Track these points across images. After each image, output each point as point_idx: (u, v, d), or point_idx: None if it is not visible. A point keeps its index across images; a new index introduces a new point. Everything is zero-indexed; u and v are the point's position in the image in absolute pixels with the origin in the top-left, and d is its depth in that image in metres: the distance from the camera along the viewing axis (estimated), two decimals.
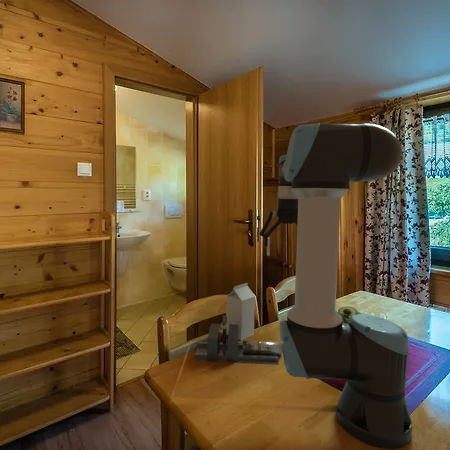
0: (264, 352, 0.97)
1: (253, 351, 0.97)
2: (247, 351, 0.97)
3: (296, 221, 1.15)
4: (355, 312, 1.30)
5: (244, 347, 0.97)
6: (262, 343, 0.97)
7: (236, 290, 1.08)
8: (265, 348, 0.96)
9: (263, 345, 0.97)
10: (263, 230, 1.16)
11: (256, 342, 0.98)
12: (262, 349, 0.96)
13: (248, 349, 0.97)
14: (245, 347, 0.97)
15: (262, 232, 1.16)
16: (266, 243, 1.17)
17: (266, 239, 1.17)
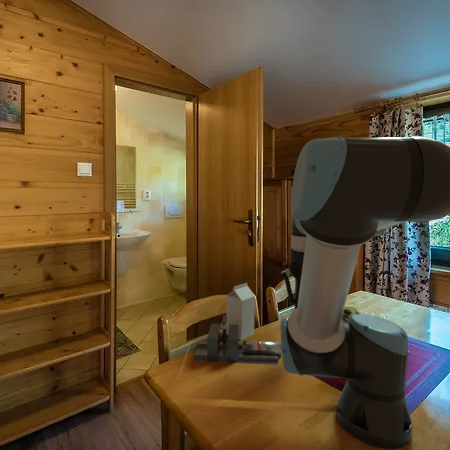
0: (264, 352, 0.97)
1: (253, 351, 0.97)
2: (247, 351, 0.97)
3: None
4: (355, 312, 1.30)
5: (244, 347, 0.97)
6: (262, 343, 0.97)
7: (236, 290, 1.08)
8: (265, 348, 0.96)
9: (263, 345, 0.97)
10: (290, 296, 0.95)
11: (256, 342, 0.98)
12: (262, 349, 0.96)
13: (248, 349, 0.97)
14: (245, 347, 0.97)
15: (291, 299, 0.95)
16: None
17: None
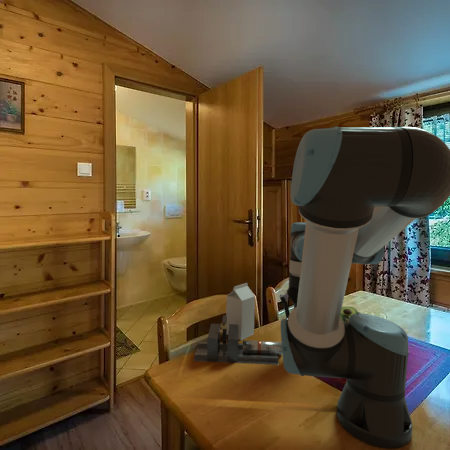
0: (264, 352, 0.97)
1: (253, 351, 0.97)
2: (247, 351, 0.97)
3: None
4: (355, 312, 1.30)
5: (244, 347, 0.97)
6: (262, 343, 0.97)
7: (236, 290, 1.08)
8: (265, 348, 0.96)
9: (263, 345, 0.97)
10: None
11: (256, 342, 0.98)
12: (262, 349, 0.96)
13: (248, 349, 0.97)
14: (245, 347, 0.97)
15: None
16: None
17: None
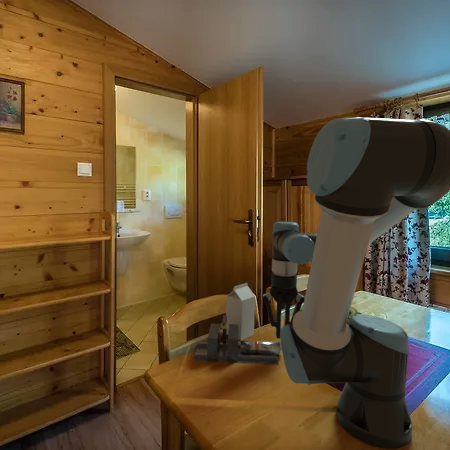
0: (262, 352, 0.97)
1: (251, 351, 0.97)
2: (245, 351, 0.97)
3: (288, 303, 0.95)
4: (355, 312, 1.30)
5: (241, 347, 0.97)
6: (260, 343, 0.97)
7: (236, 290, 1.08)
8: (263, 348, 0.96)
9: (261, 345, 0.97)
10: (271, 319, 0.96)
11: (254, 342, 0.98)
12: (260, 349, 0.96)
13: (245, 349, 0.97)
14: (243, 347, 0.97)
15: (272, 322, 0.96)
16: (278, 334, 0.97)
17: (278, 330, 0.97)
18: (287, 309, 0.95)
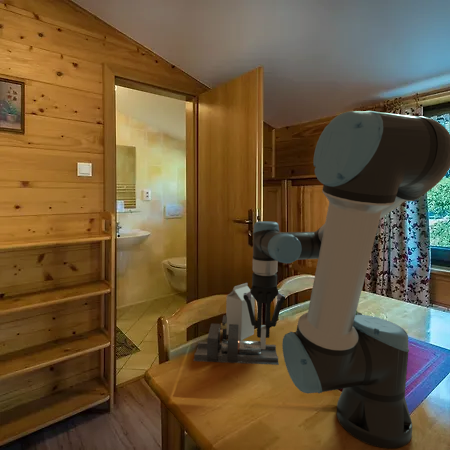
0: (242, 351, 0.97)
1: None
2: (226, 350, 0.97)
3: (268, 303, 0.95)
4: None
5: (222, 347, 0.97)
6: (241, 342, 0.98)
7: (236, 290, 1.08)
8: (244, 347, 0.97)
9: (242, 344, 0.97)
10: (252, 318, 0.96)
11: None
12: (240, 348, 0.97)
13: (226, 349, 0.97)
14: (223, 346, 0.97)
15: (252, 321, 0.96)
16: (259, 334, 0.97)
17: (259, 329, 0.97)
18: (267, 308, 0.96)
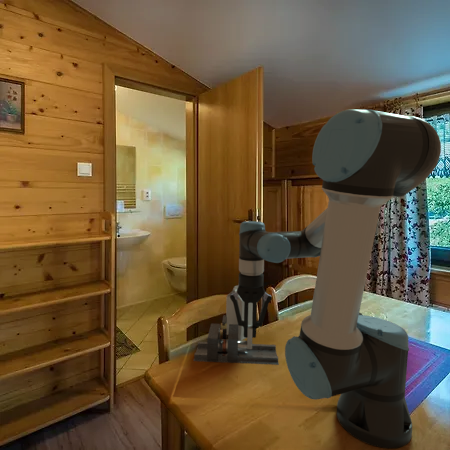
0: None
1: (218, 350, 0.97)
2: None
3: (255, 303, 0.95)
4: None
5: None
6: (227, 342, 0.98)
7: (236, 290, 1.08)
8: None
9: None
10: (238, 318, 0.96)
11: (222, 341, 0.98)
12: (227, 347, 0.97)
13: None
14: None
15: (239, 321, 0.97)
16: (246, 334, 0.97)
17: (246, 329, 0.97)
18: (254, 308, 0.96)
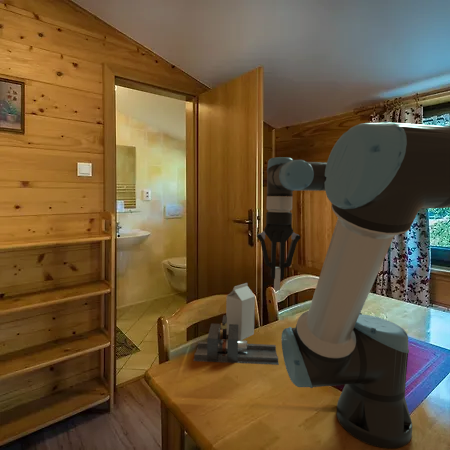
0: None
1: (218, 350, 0.97)
2: None
3: (283, 241, 0.93)
4: None
5: None
6: (227, 342, 0.98)
7: (236, 290, 1.08)
8: None
9: None
10: (266, 258, 0.94)
11: (221, 341, 0.98)
12: (227, 347, 0.97)
13: None
14: None
15: (266, 261, 0.94)
16: (273, 275, 0.95)
17: (273, 270, 0.95)
18: (282, 248, 0.94)
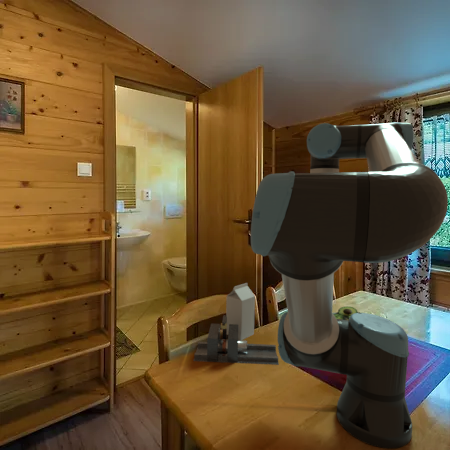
0: None
1: (218, 350, 0.97)
2: None
3: None
4: (355, 312, 1.30)
5: None
6: (227, 342, 0.98)
7: (236, 290, 1.08)
8: None
9: None
10: None
11: (221, 341, 0.98)
12: (227, 347, 0.97)
13: None
14: None
15: None
16: None
17: None
18: None
